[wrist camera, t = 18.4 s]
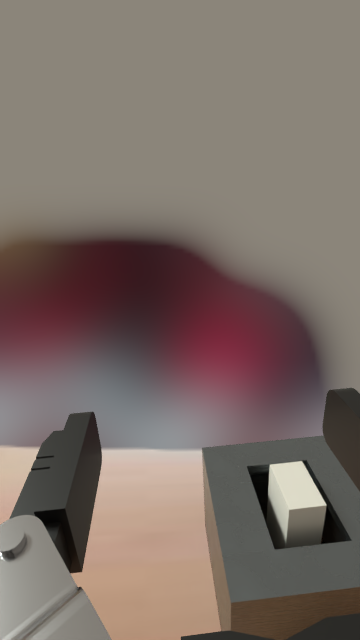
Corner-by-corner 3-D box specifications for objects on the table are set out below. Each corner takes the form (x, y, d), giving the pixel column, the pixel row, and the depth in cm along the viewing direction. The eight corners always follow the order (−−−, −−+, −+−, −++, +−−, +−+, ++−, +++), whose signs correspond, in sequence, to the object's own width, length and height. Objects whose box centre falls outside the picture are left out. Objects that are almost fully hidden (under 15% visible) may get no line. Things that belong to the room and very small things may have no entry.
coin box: (399, 670, 27) (433, 577, 22) (230, 693, 26) (230, 602, 22) (319, 513, 40) (330, 435, 35) (205, 525, 39) (202, 447, 35)
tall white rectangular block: (310, 611, 31) (326, 505, 26) (279, 615, 31) (289, 509, 25) (291, 560, 35) (301, 461, 30) (263, 564, 35) (269, 464, 30)
